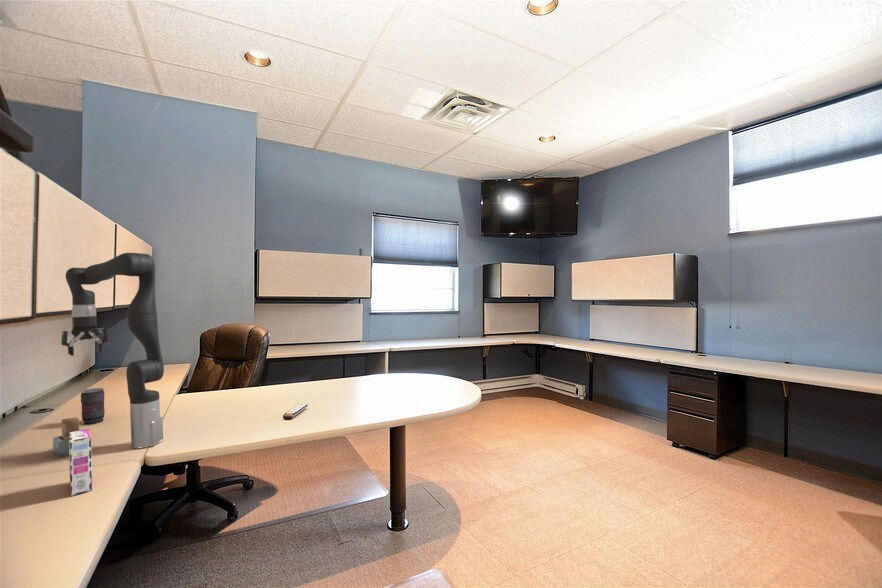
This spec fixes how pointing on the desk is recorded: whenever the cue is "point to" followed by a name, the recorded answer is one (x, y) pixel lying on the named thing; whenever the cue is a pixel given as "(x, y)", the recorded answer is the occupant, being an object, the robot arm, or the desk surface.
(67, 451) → the slate open square box
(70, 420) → the tan wooden block
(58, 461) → the desk surface
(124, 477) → the desk surface
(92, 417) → the camera lens
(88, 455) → the candy bar box
